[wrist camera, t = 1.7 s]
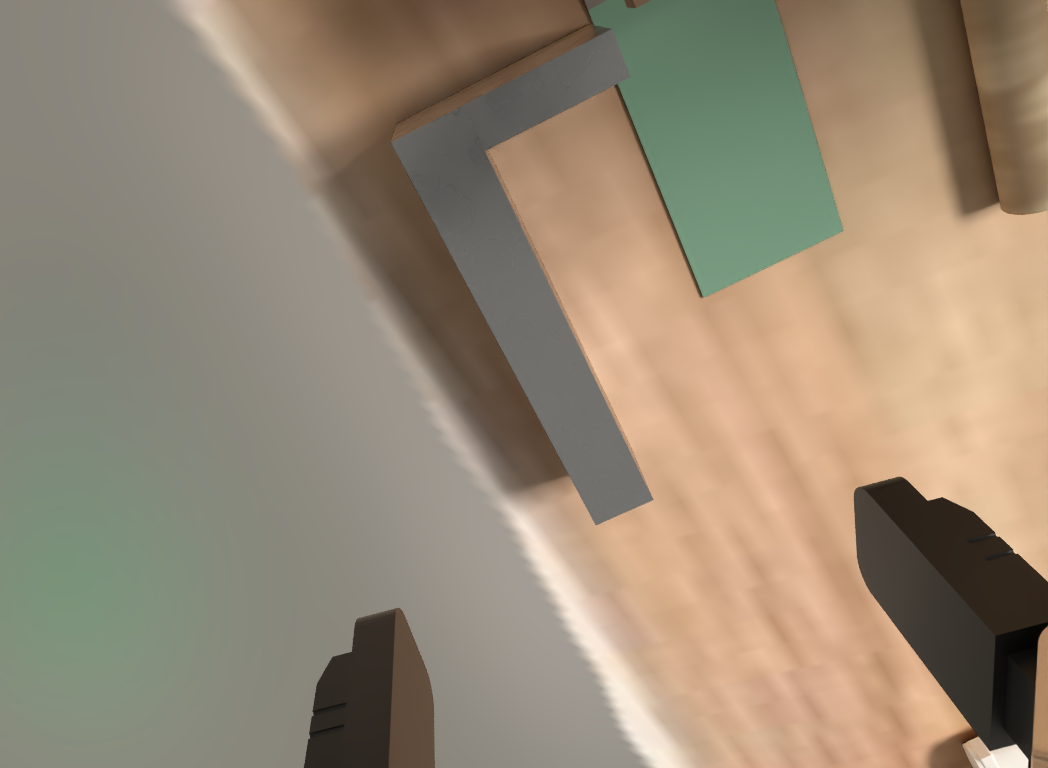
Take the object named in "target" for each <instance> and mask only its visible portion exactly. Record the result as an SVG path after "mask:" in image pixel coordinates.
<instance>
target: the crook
mask: <svg viewBox="0 0 1048 768" xmlns="http://www.w3.org/2000/svg"><path fill="white" fill-rule="evenodd" d="M628 78H630V74H629V72H628V69H627V66H626V64H625V61H624V58H623V56H622V53H621V51H620V48H619V45H618V43H617V40H616V37H615V35H614V32H613V29H610V28H606V27H601V26H596V25H592V24H589V25H587V26H585V27H583V28H581V29H579V30H577V31H575V32H573V33H571V34H569V35H567V36H565V37H564V38H562V39H560V40H558V41H556V42H554V43H552V44H550V45H548V46H546V47H544V48H542V49H540V50H538V51H536V52H534V53H533V54H531V55H529V56H527V57H525V58H523V59H521V60H519V61H517V62H515V63H513V64H511V65H509V66H507V67H505V68H504V69H502V70H500V71H498V72H496V73H494V74H492V75H490V76H488V77H486V78H484V79H482V80H480V81H478V82H476V83H474V84H473V85H471V86H469V87H467V88H465V89H463V90H461V91H459V92H457V93H455V94H453V95H451V96H449V97H447V98H445V99H443V100H442V101H440V102H438V103H436V104H434V105H432V106H430V107H428V108H426V109H424V110H422V111H420V112H418V113H416V114H414V115H413V116H411V117H409V118H407V119H405V120H403V121H401V122H399V123H397V124H396V128H395V131H394V134H393V137H392V140H391V144H392V146H393V148H394V150H395V152H396V154H397V155H398V157H399V159H400V161H401V163H402V165H403V167H404V168H405V170H406V172H407V174H408V176H409V178H410V180H411V182H412V183H413V185H414V187H415V189H416V191H417V193H418V195H419V196H420V198H421V200H422V202H423V204H424V206H425V208H426V209H427V211H428V213H429V215H430V217H431V219H432V221H433V223H434V224H435V226H436V228H437V230H438V232H439V234H440V236H441V237H442V239H443V241H444V243H445V245H446V247H447V249H448V250H449V252H450V254H451V256H452V258H453V260H454V262H455V264H456V265H457V267H458V269H459V271H460V273H461V275H462V277H463V278H464V280H465V282H466V284H467V286H468V288H469V290H470V292H471V293H472V295H473V297H474V299H475V301H476V303H477V305H478V306H479V308H480V310H481V312H482V314H483V316H484V318H485V319H486V321H487V323H488V325H489V327H490V329H491V331H492V333H493V334H494V336H495V338H496V340H497V342H498V344H499V346H500V347H501V349H502V351H503V353H504V355H505V357H506V359H507V360H508V362H509V364H510V366H511V368H512V370H513V372H514V374H515V375H516V377H517V379H518V381H519V383H520V385H521V387H522V388H523V390H524V392H525V394H526V396H527V398H528V400H529V402H530V403H531V405H532V407H533V409H534V411H535V413H536V415H537V416H538V418H539V420H540V422H541V424H542V426H543V428H544V429H545V431H546V433H547V435H548V437H549V439H550V441H551V443H552V444H553V446H554V448H555V450H556V452H557V454H558V456H559V457H560V459H561V461H562V463H563V465H564V467H565V469H566V470H567V472H568V474H569V476H570V478H571V480H572V482H573V484H574V485H575V487H576V489H577V491H578V493H579V495H580V497H581V498H582V500H583V502H584V504H585V506H586V508H587V510H588V511H589V513H590V515H591V517H592V519H593V521H594V523H595V525H598V524H600V523H602V522H604V521H607V520H609V519H611V518H613V517H616V516H618V515H620V514H623V513H625V512H627V511H629V510H632V509H634V508H636V507H638V506H641V505H643V504H645V503H648V502H650V501H652V500H653V498H652V496H651V493H650V491H649V488H648V486H647V484H646V481H645V479H644V477H643V474H642V472H641V470H640V467H639V465H638V463H637V460H636V458H635V455H634V453H633V451H632V448H631V446H630V444H629V442H628V440H627V438H626V436H625V434H624V432H623V430H622V428H621V425H620V423H619V421H618V419H617V417H616V415H615V413H614V411H613V409H612V407H611V405H610V403H609V401H608V398H607V396H606V394H605V392H604V390H603V388H602V386H601V384H600V382H599V380H598V378H597V376H596V373H595V371H594V369H593V367H592V365H591V363H590V361H589V359H588V357H587V355H586V353H585V351H584V349H583V346H582V344H581V342H580V340H579V338H578V336H577V334H576V332H575V330H574V328H573V326H572V324H571V321H570V319H569V317H568V315H567V313H566V311H565V309H564V307H563V305H562V303H561V301H560V299H559V297H558V294H557V292H556V290H555V288H554V286H553V284H552V282H551V280H550V278H549V276H548V274H547V272H546V269H545V267H544V265H543V263H542V261H541V259H540V257H539V255H538V253H537V251H536V249H535V247H534V245H533V242H532V240H531V238H530V236H529V234H528V232H527V230H526V228H525V226H524V224H523V222H522V220H521V217H520V215H519V213H518V211H517V209H516V207H515V205H514V203H513V201H512V199H511V197H510V195H509V193H508V190H507V188H506V186H505V184H504V182H503V180H502V178H501V176H500V174H499V172H498V170H497V168H496V166H495V163H494V161H493V159H492V157H491V155H490V153H489V151H488V149H490V148H492V147H494V146H495V145H497V144H499V143H501V142H503V141H505V140H507V139H509V138H511V137H513V136H515V135H517V134H519V133H521V132H523V131H525V130H527V129H529V128H531V127H533V126H535V125H537V124H539V123H541V122H543V121H545V120H547V119H549V118H551V117H553V116H555V115H557V114H559V113H561V112H563V111H565V110H567V109H569V108H571V107H573V106H575V105H577V104H579V103H581V102H583V101H585V100H587V99H588V98H590V97H592V96H594V95H596V94H598V93H600V92H602V91H604V90H606V89H608V88H610V87H612V86H614V85H616V84H618V83H620V82H622V81H624V80H626V79H628Z"/></svg>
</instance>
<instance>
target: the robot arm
mask: <svg viewBox="0 0 1048 768" xmlns="http://www.w3.org/2000/svg"><path fill="white" fill-rule="evenodd" d="M854 510H855V528H856V546H857V559H858V564H859V568H860V571H861V574H862V577H863V579H864V581H865V583H866V585H867V587H868V589H869V591H870V592H871V594H872V595H873V596H874V598H875V599H876V600H877V602H878V603H879V604H880V606H881V607H882V608H883V610H884V611H885V612H886V614H887V615H888V616H889V618H890V619H891V620H892V622H893V623H894V624H895V626H896V627H897V628H898V630H899V631H900V632H901V634H902V635H903V636H904V638H905V639H906V640H907V642H908V643H909V644H910V646H911V647H912V648H913V650H914V651H915V652H916V654H917V655H918V656H919V658H920V659H921V660H922V662H923V663H924V664H925V666H926V667H927V668H928V670H929V671H930V672H931V674H932V675H933V676H934V678H935V679H936V680H937V682H938V683H939V684H940V686H941V687H942V688H943V690H944V691H945V692H946V694H947V695H948V696H949V698H950V699H951V700H952V702H953V703H954V704H955V706H956V707H957V708H958V710H959V711H960V712H961V714H962V715H963V716H964V718H965V719H966V720H967V722H968V723H969V724H970V726H971V727H972V728H973V730H974V731H975V732H976V734H977V735H978V736H979V738H980V739H981V740H982V742H983V743H984V744H985V746H986V747H987V748H988V750H989V751H993V750H997V749H1000V748H1004V747H1008V746H1012V745H1017V746H1018V747H1019V749H1020V750H1021V751H1022V752H1023V754H1024V755H1025V756H1026V757H1027V759H1028V768H1048V582H1047V581H1046V580H1045V579H1044V578H1043V577H1042V576H1041V575H1040V574H1039V573H1038V572H1037V571H1036V570H1035V569H1033V568H1032V567H1031V566H1030V565H1029V564H1028V563H1027V562H1026V561H1025V560H1024V559H1023V558H1022V557H1021V556H1020V555H1019V554H1015V553H1014V552H1013V549H1012V548H1011V547H1010V546H1009V545H1008V544H1007V543H1006V542H1005V541H1004V540H1003V539H1002V538H1000V537H997V536H996V534H995V532H994V531H993V530H992V529H991V528H990V527H989V526H988V525H987V524H986V523H984V522H983V521H982V520H981V519H980V518H979V517H978V516H977V515H976V514H975V513H974V512H972V511H970V510H968V509H966V508H964V507H962V506H960V505H958V504H955V503H953V502H951V501H949V500H947V499H945V498H943V497H941V498H937V499H934V500H930V501H927V500H926V499H925V498H924V497H923V496H922V495H921V494H920V493H919V492H918V491H917V490H916V489H915V488H914V487H913V486H912V485H911V484H910V483H909V482H908V481H907V480H906V479H904V478H903V477H896V478H892V479H888V480H885V481H881V482H877V483H873V484H869V485H866V486H862V487H858V488H856V490H855V492H854ZM313 713H314V716H312V719H311V726H310V732H309V734H310V739H308V745H307V752H306V758H305V764H304V768H435V760H434V704H433V695H432V689H431V684H430V680H429V676H428V673H427V670H426V667H425V665H424V662H423V660H422V657H421V655H420V652H419V650H418V647H417V645H416V642H415V640H414V638H413V635H412V633H411V630H410V628H409V625H408V623H407V620H406V618H405V616H404V613H403V612H402V610H401V609H400V608H396V609H392V610H388V611H384V612H380V613H377V614H373V615H369V616H366V617H362V618H358V619H357V620H356V623H355V628H354V638H353V647H352V652H350V653H346V654H342V655H339V656H335V657H332V659H331V661H330V662H329V664H328V666H327V667H326V669H325V671H324V673H323V674H322V676H321V678H320V680H319V681H318V683H317V687H316V693H315V700H314V707H313Z"/></svg>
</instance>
